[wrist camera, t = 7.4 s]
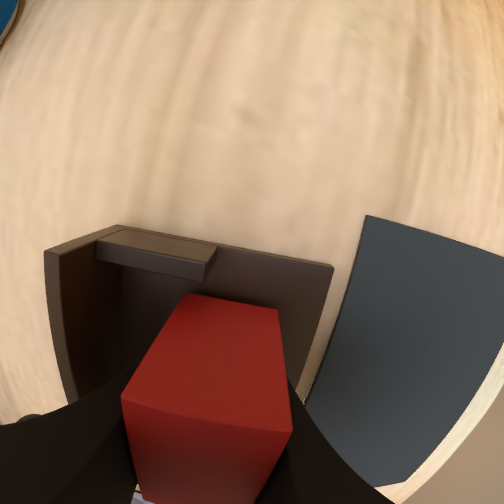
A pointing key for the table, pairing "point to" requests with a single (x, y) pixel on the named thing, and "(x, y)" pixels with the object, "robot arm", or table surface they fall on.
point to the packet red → (209, 404)
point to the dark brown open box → (164, 297)
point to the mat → (407, 348)
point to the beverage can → (7, 16)
